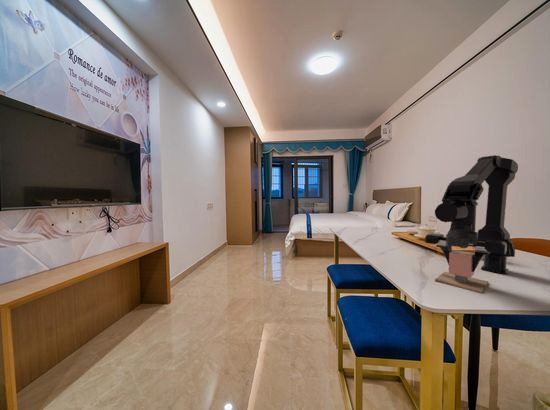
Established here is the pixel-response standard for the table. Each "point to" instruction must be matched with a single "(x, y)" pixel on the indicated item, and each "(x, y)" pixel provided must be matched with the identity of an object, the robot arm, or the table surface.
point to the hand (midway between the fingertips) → (461, 269)
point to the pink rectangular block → (461, 263)
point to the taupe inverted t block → (462, 282)
